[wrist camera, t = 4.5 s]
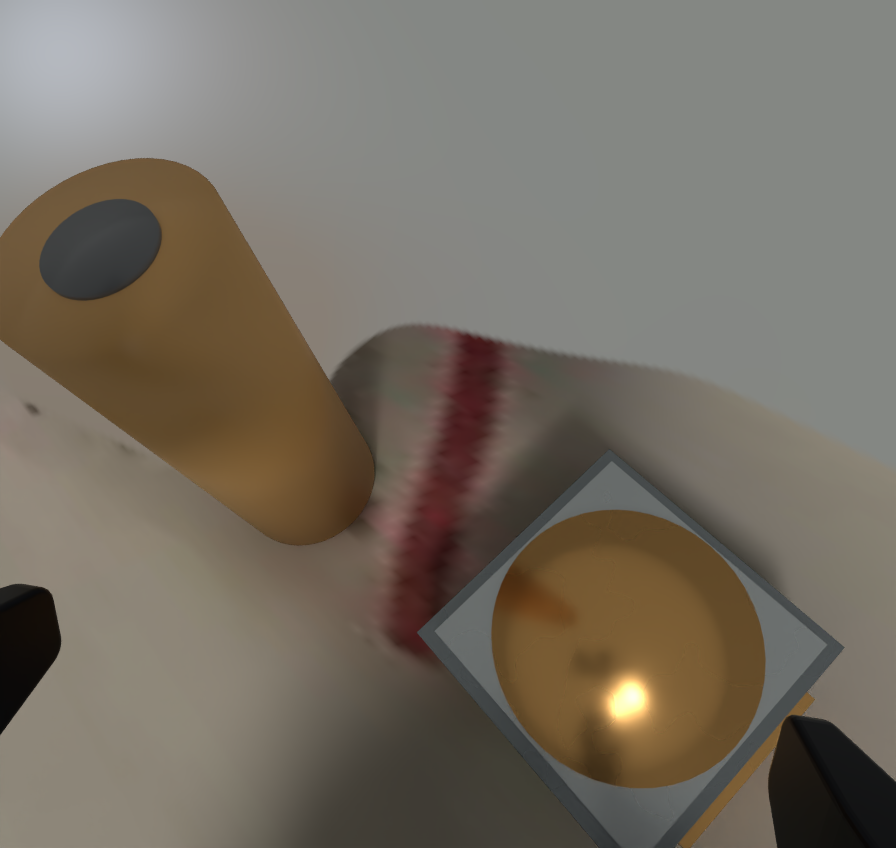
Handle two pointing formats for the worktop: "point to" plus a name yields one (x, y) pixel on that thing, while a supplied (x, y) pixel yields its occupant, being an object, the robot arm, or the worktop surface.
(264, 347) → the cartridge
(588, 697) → the unit
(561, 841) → the worktop surface
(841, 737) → the robot arm
